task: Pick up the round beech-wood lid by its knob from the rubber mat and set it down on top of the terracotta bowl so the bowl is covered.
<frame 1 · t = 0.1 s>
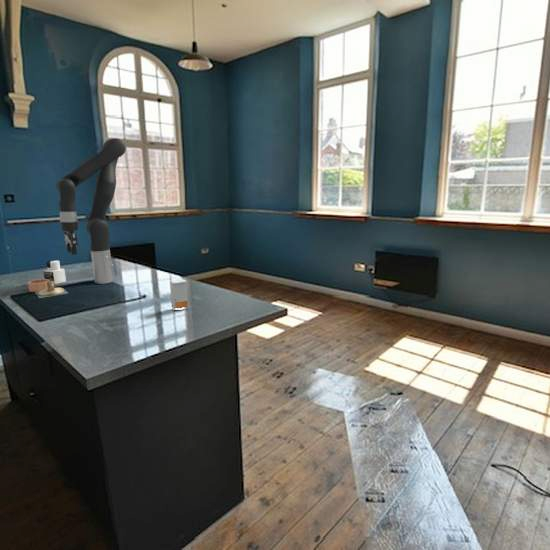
hand: (72, 253, 190), 17 cm above the table, tool pointing down, fingers open, 8 cm apart
skincare box: (180, 309, 156), on the table
lid: (51, 292, 181), resting on mat
mat: (51, 293, 181), on the table
medicine bottle: (55, 283, 202), on the table
bowl: (40, 290, 188), on the table
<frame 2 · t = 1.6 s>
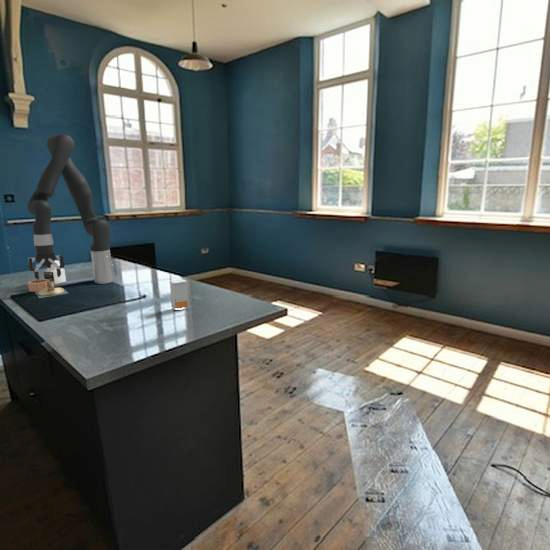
hand: (48, 278, 179), 8 cm above the table, tool pointing down, fingers open, 8 cm apart
nothing on the table moved.
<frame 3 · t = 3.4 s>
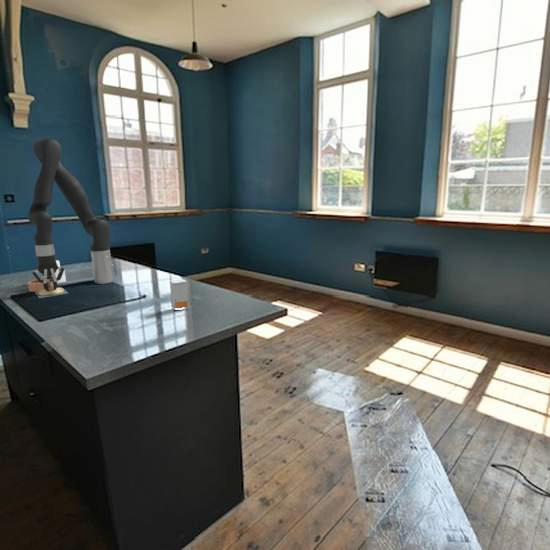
hand: (51, 289, 180), 2 cm above the table, tool pointing down, fingers closed on lid, 2 cm apart
lid: (51, 292, 181), point 1 cm above the table, touching gripper, mat
everything else where it was.
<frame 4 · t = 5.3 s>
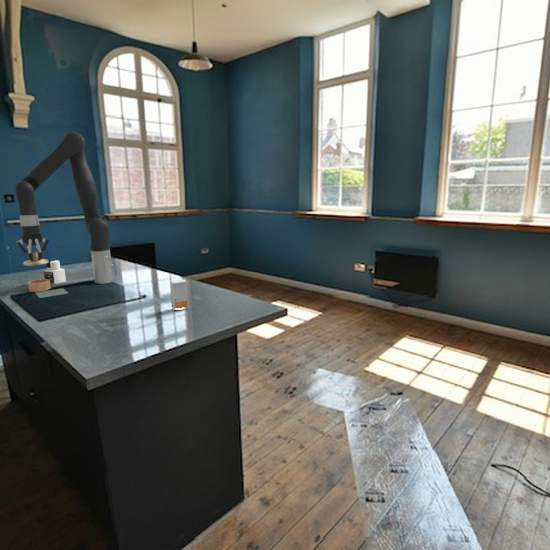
hand: (35, 260, 184), 15 cm above the table, tool pointing down, fingers closed on lid, 2 cm apart
lid: (36, 263, 184), point 14 cm above the table, touching gripper
everything else where it was.
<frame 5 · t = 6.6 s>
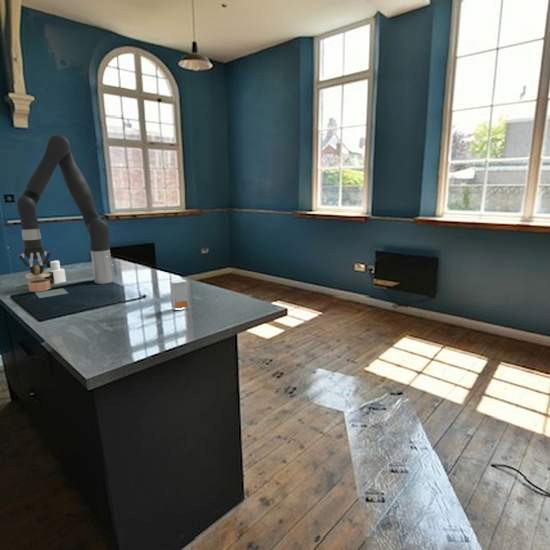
hand: (37, 273, 186), 9 cm above the table, tool pointing down, fingers closed on lid, 2 cm apart
lid: (37, 276, 186), point 7 cm above the table, touching gripper
everything else where it was.
when the fingers open (8 cm above the table, at t = 7.4 s): lid drops 1 cm, resting on bowl.
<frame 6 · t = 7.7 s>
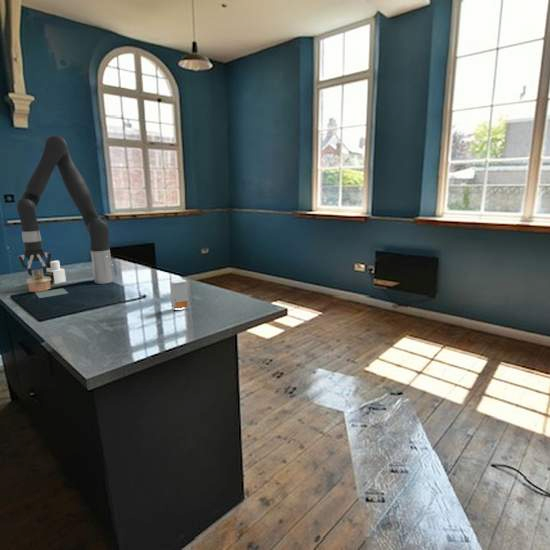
hand: (37, 274, 186), 8 cm above the table, tool pointing down, fingers open, 5 cm apart
lid: (39, 281, 187), point 4 cm above the table, touching bowl
everything else where it was.
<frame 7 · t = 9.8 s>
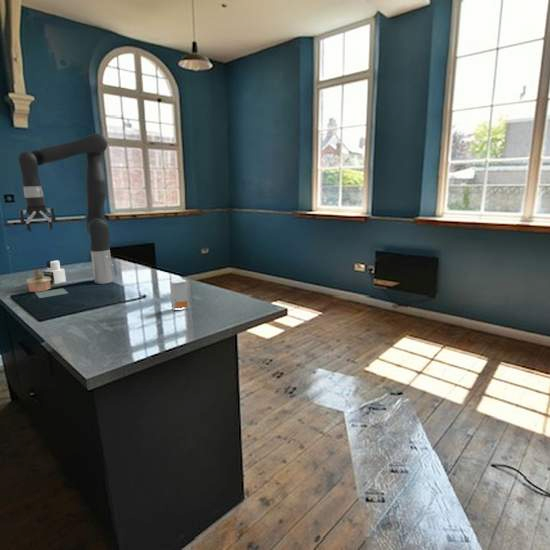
hand: (40, 230, 182), 29 cm above the table, tool pointing down, fingers open, 8 cm apart
nothing on the table moved.
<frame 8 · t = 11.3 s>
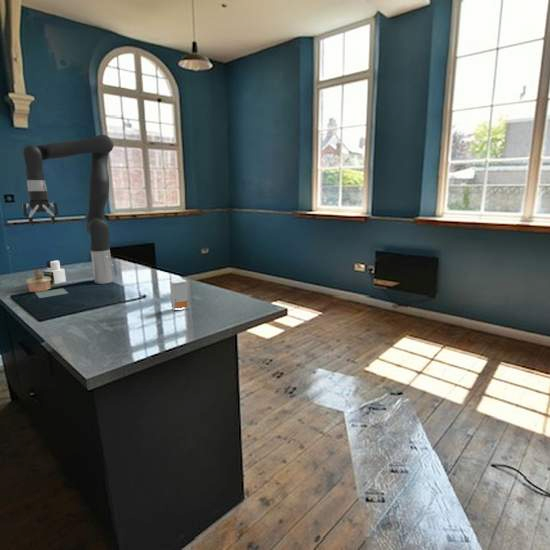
hand: (42, 224, 182), 32 cm above the table, tool pointing down, fingers open, 8 cm apart
nothing on the table moved.
at the end: lid 0.1 cm off-centre on the bowl, point 4.5 cm above the bowl's base; lid tilted 0°; the gripper is holding nothing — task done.
